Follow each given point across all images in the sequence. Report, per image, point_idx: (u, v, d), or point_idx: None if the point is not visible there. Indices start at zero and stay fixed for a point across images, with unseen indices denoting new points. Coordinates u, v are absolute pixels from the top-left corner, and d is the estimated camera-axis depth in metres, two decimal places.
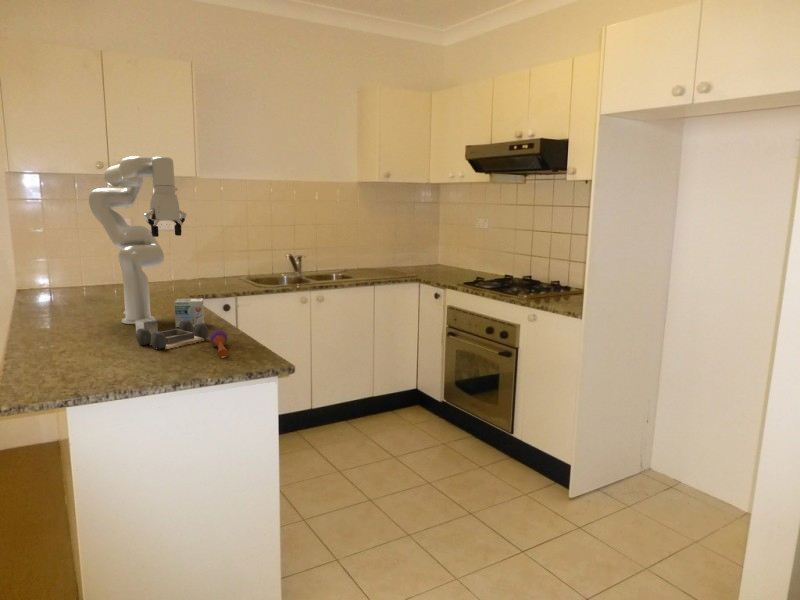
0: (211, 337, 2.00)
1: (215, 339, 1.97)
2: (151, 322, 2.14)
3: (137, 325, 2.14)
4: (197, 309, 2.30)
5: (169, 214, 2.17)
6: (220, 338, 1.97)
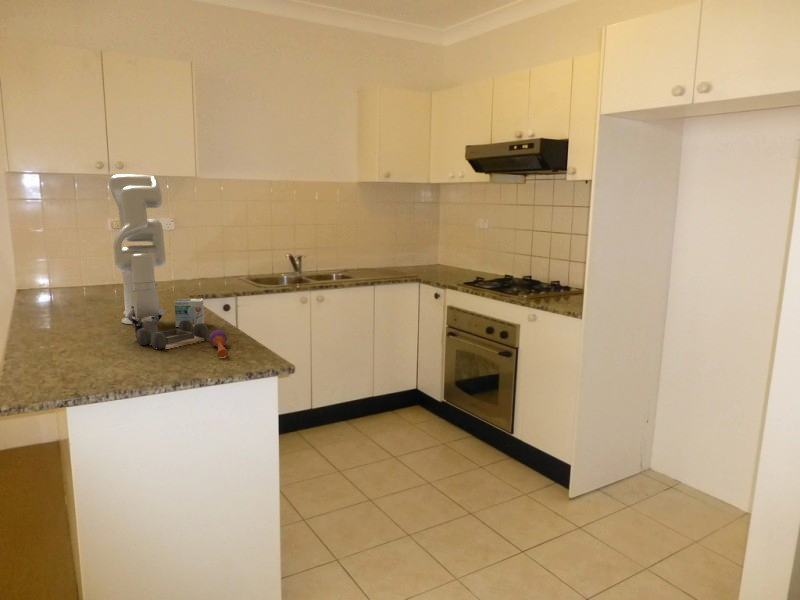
0: (210, 337, 1.99)
1: (215, 339, 1.97)
2: (151, 322, 2.14)
3: None
4: (197, 309, 2.30)
5: (149, 310, 2.13)
6: (220, 338, 1.97)
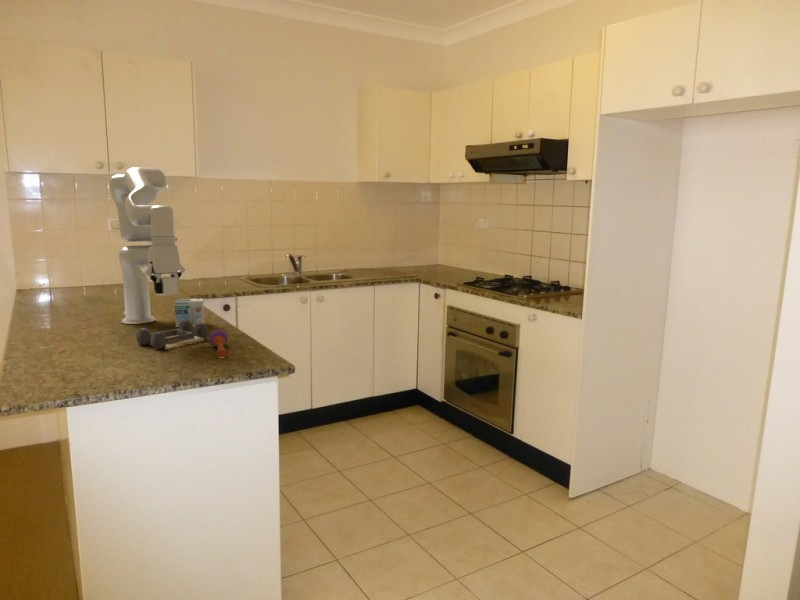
0: (211, 337, 1.99)
1: (215, 339, 1.97)
2: (171, 279, 2.02)
3: None
4: (197, 309, 2.30)
5: (168, 266, 2.02)
6: (220, 338, 1.97)
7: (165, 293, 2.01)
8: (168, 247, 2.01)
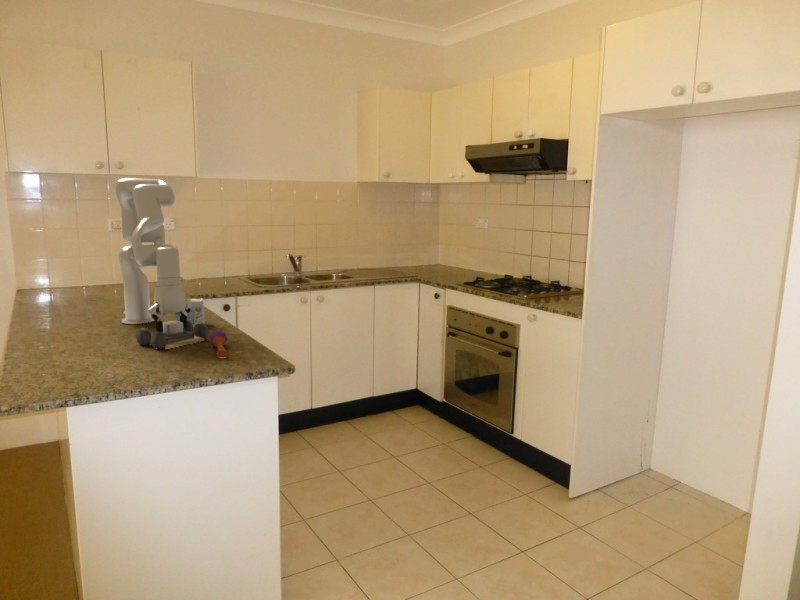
0: (211, 337, 1.99)
1: (215, 339, 1.97)
2: (177, 324, 2.04)
3: None
4: (197, 309, 2.30)
5: (174, 307, 2.03)
6: (220, 338, 1.97)
7: None
8: (174, 288, 2.02)
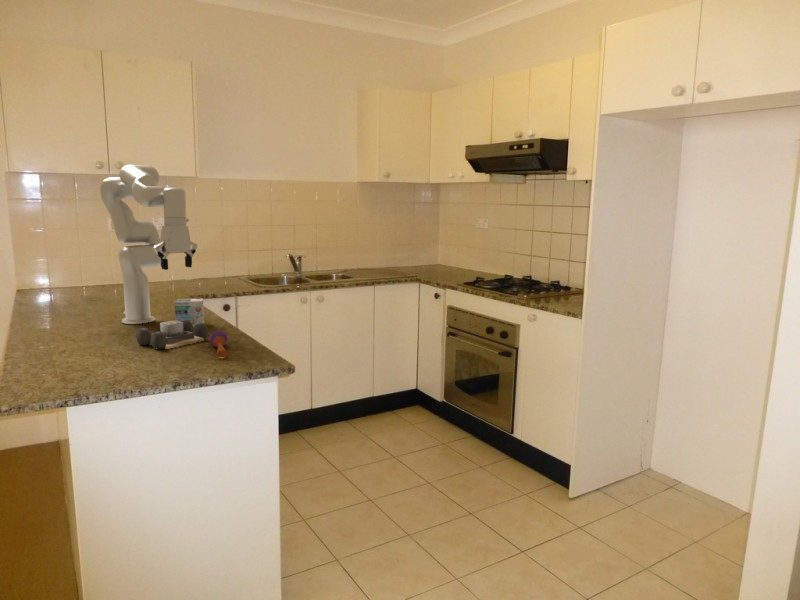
0: (211, 338, 1.99)
1: (215, 340, 1.97)
2: (177, 324, 2.04)
3: (162, 327, 2.04)
4: (197, 309, 2.30)
5: (179, 246, 2.11)
6: (220, 339, 1.97)
7: None
8: (179, 228, 2.10)
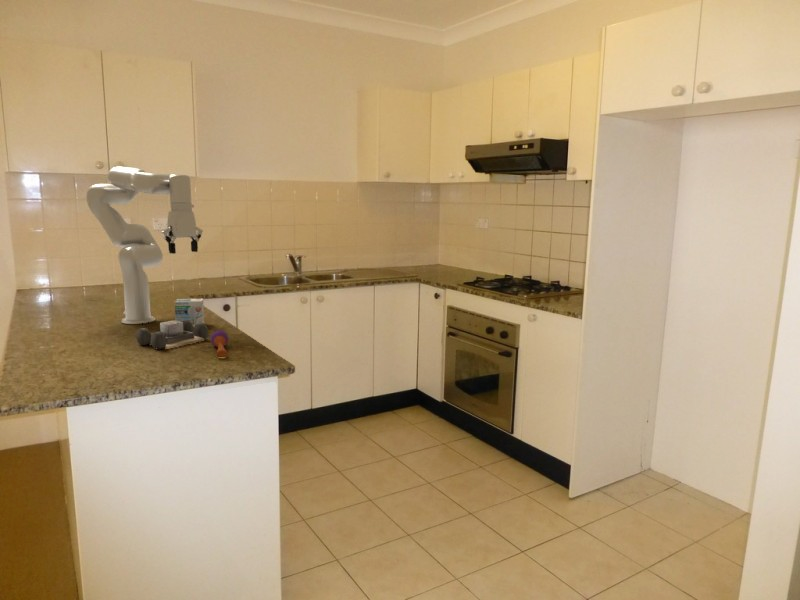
0: (212, 338, 1.99)
1: (215, 340, 1.97)
2: (177, 324, 2.04)
3: (162, 327, 2.04)
4: (197, 309, 2.30)
5: (186, 231, 2.20)
6: (220, 339, 1.97)
7: None
8: (186, 213, 2.18)
